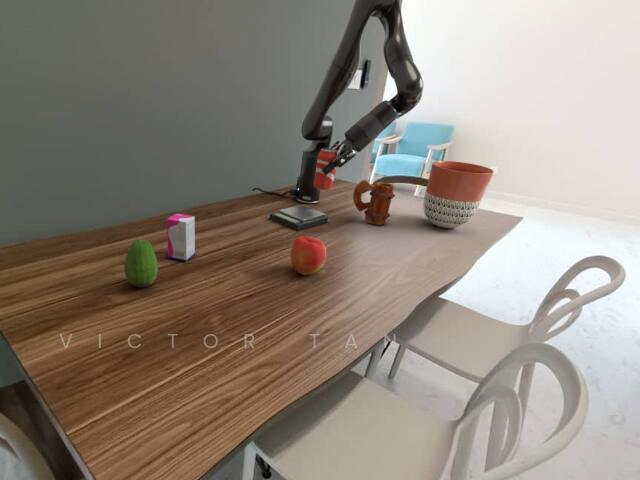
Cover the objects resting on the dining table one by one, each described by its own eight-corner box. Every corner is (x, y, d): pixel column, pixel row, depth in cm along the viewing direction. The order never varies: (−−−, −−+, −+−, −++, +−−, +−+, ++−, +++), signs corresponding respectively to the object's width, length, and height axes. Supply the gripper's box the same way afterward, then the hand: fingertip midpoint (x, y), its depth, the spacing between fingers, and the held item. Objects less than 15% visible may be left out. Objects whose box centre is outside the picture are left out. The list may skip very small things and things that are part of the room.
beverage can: (335, 188, 130) (342, 150, 124) (325, 192, 126) (331, 152, 119) (320, 184, 133) (326, 147, 127) (309, 187, 129) (315, 149, 123)
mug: (385, 220, 149) (395, 180, 142) (390, 227, 142) (401, 185, 135) (346, 216, 150) (354, 176, 142) (349, 224, 143) (358, 182, 135)
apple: (314, 284, 101) (320, 248, 96) (281, 273, 105) (285, 239, 100) (327, 271, 108) (334, 237, 103) (296, 261, 112) (300, 228, 107)
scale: (269, 218, 143) (269, 212, 142) (299, 211, 152) (299, 205, 151) (297, 230, 134) (298, 224, 133) (327, 222, 143) (328, 216, 142)
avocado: (161, 291, 94) (158, 244, 88) (126, 294, 92) (121, 247, 85) (157, 276, 100) (154, 231, 94) (125, 278, 98) (120, 233, 92)
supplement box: (195, 254, 113) (195, 215, 107) (186, 262, 108) (185, 222, 102) (177, 250, 115) (176, 212, 109) (167, 258, 110) (165, 218, 104)
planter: (470, 223, 152) (491, 166, 141) (472, 239, 136) (496, 176, 125) (416, 213, 158) (433, 158, 147) (413, 228, 143) (431, 167, 132)
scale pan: (278, 212, 143) (278, 210, 143) (300, 207, 150) (301, 205, 150) (303, 221, 136) (303, 219, 135) (325, 216, 143) (325, 213, 142)
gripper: (349, 119, 126) (308, 156, 131) (366, 126, 114) (320, 166, 118) (361, 137, 129) (321, 173, 134) (379, 146, 117) (333, 184, 122)
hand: (320, 170), depth 126 cm, fingers closed on beverage can, 6 cm apart
